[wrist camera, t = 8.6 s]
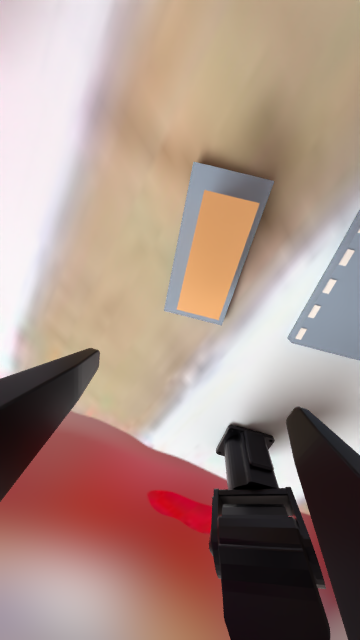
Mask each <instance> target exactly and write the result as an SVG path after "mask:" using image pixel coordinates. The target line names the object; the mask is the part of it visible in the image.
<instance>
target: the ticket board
mask: <svg viewBox="0 0 360 640" xmlns="http://www.w3.org/2000/svg"><path fill="white" fill-rule="evenodd" d="M288 339H289V340H290V342H291V343H294V344H298V345H302V346H306V347H310V348H313V349H317V350H321V351H325V352H329V353H333V354H337V355H341V356H345V357H349V358H353V359H356V360H360V211H359V213H358V214H357V216H356V218H355V220H354V222H353V223H352V225H351V227H350V229H349V230H348V232H347V234H346V236H345V237H344V239H343V241H342V243H341V244H340V246H339V248H338V250H337V252H336V253H335V255H334V257H333V259H332V260H331V262H330V264H329V266H328V267H327V269H326V271H325V273H324V274H323V276H322V278H321V280H320V281H319V283H318V285H317V287H316V289H315V290H314V292H313V294H312V296H311V297H310V299H309V301H308V303H307V304H306V306H305V308H304V310H303V311H302V313H301V315H300V317H299V318H298V320H297V322H296V324H295V326H294V327H293V329H292V331H291V333H290V334H289V336H288Z"/></svg>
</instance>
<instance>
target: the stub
mask: <svg viewBox="0 0 360 640" xmlns="http://www.w3.org/2000/svg"><path fill="white" fill-rule="evenodd" d="M273 184H274V181H272V180H268V179H264V178H260V177H256V176H251V175H247V174H243V173H239V172H235V171H231V170H226V169H222V168H218V167H214V166H210V165H206V164H201V163H197V162H193V167H192V172H191V177H190V182H189V187H188V192H187V197H186V202H185V207H184V212H183V217H182V222H181V227H180V233H179V238H178V243H177V248H176V253H175V258H174V263H173V268H172V273H171V278H170V283H169V288H168V293H167V298H166V303H165V308H164V311H167V312H171V313H175V314H179V315H183V316H187V317H191V318H195V319H198V320H202V321H206V322H210V323H214V324H218V325H222V323H223V320H224V318H225V315H226V312H227V309H228V307H229V304H230V301H231V298H232V296H233V293H234V290H235V287H236V285H237V282H238V279H239V277H240V274H241V271H242V268H243V266H244V263H245V260H246V257H247V255H248V252H249V249H250V246H251V244H252V241H253V238H254V236H255V233H256V230H257V227H258V225H259V222H260V219H261V216H262V214H263V211H264V208H265V206H266V203H267V200H268V197H269V195H270V192H271V189H272V186H273Z"/></svg>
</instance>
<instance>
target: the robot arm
mask: <svg viewBox="0 0 360 640" xmlns="http://www.w3.org/2000/svg"><path fill="white" fill-rule="evenodd" d="M99 357H100V352H99V350H96V349H93V348H88V349H85V350H83V351H80V352H77V353H74V354H71V355H68V356H65V357H62V358H59V359H56V360H54V361H51V362H48V363H45V364H42V365H39V366H36V367H33V368H30V369H27V370H25V371H22V372H19V373H16V374H13V375H10V376H7V377H4V378H1V379H0V502H1V500H2V499H3V498H4V496H5V495H6V494H7V492H8V491H9V490H10V489H11V487H12V486H13V485H14V483H15V482H16V480H17V479H18V478H19V477H20V475H21V474H22V473H23V472H24V470H25V469H26V468H27V466H28V465H29V464H30V463H31V461H32V460H33V459H34V457H35V456H36V455H37V453H38V452H39V451H40V449H41V448H42V447H43V445H44V444H45V443H46V442H47V440H48V439H49V438H50V437H51V435H52V434H53V433H54V431H55V430H56V429H57V427H58V426H59V425H60V424H61V422H62V421H63V419H64V418H65V417H66V416H67V414H68V413H69V412H70V411H71V409H72V408H73V407H74V405H75V404H76V403H77V401H78V400H79V398H80V397H81V395H82V394H83V392H84V390H85V389H86V387H87V386H88V384H89V382H90V381H91V379H92V377H93V376H94V374H95V373H96V371H97V369H98V367H99ZM286 425H287V430H288V434H289V439H290V444H291V448H292V453H293V458H294V462H295V466H296V469H297V473H298V476H299V479H300V482H301V486H302V489H303V492H304V496H305V499H306V502H307V506H308V509H309V512H310V515H311V519H312V522H313V525H314V528H315V532H316V535H317V538H318V542H319V545H320V548H321V552H322V555H323V558H324V561H325V565H326V568H327V571H328V575H329V578H330V581H331V584H332V588H333V591H334V594H335V598H336V601H337V604H338V608H339V611H340V614H341V617H342V621H343V624H344V627H345V631H346V634H347V637H348V640H360V455H359V454H358V453H356V452H355V451H354V450H353V449H352V448H351V447H350V446H349V445H347V444H346V443H345V442H344V441H343V440H342V439H341V438H339V437H338V436H337V435H336V434H335V433H334V432H333V431H331V430H330V429H329V428H328V427H327V426H326V425H325V424H323V423H322V422H321V421H320V420H319V419H318V418H317V417H316V416H314V415H313V414H312V413H311V412H310V411H309V410H307V409H305V408H301V407H295V408H294V409H293V411H292V412H291V414H290V415H289V416H288V418H287V420H286ZM273 443H274V438H273V436H270V435H267V434H263V433H259V432H255V431H252V430H248V429H244V428H240V427H236V426H233V425H230V426H228V428H227V430H226V432H225V434H224V435H223V437H222V439H221V441H220V443H219V445H218V447H217V449H216V453H217V454H218V455H222V456H225V463H226V474H227V484H228V490H219V489H214V496H213V498H212V499H213V501H212V524H211V533H210V540H209V549H210V552H211V553H212V555H213V557H214V563H215V568H216V573H217V576H218V578H220V579H221V583H222V594H223V609H224V619H225V623H226V626H227V629H228V632H229V636H230V639H231V640H330V627H329V623H328V620H327V617H326V614H325V611H324V607H323V604H322V601H321V598H320V595H319V592H318V588H321V589H326V587H325V583H324V579H323V576H322V572H321V569H320V566H319V563H318V560H317V557H316V554H315V551H314V548H313V545H312V542H311V539H310V537H309V534H308V532H307V529H306V526H305V524H304V521H303V518H302V516H301V513H300V510H299V508H298V505H297V503H296V500H295V497H294V495H293V492H292V490H291V487H285V488H279V487H278V484H277V480H276V477H275V474H274V468H273V464H272V461H271V458H270V455H269V451H268V449H269V448H270V447H271V445H272V444H273ZM288 516H292V517H288Z"/></svg>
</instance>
